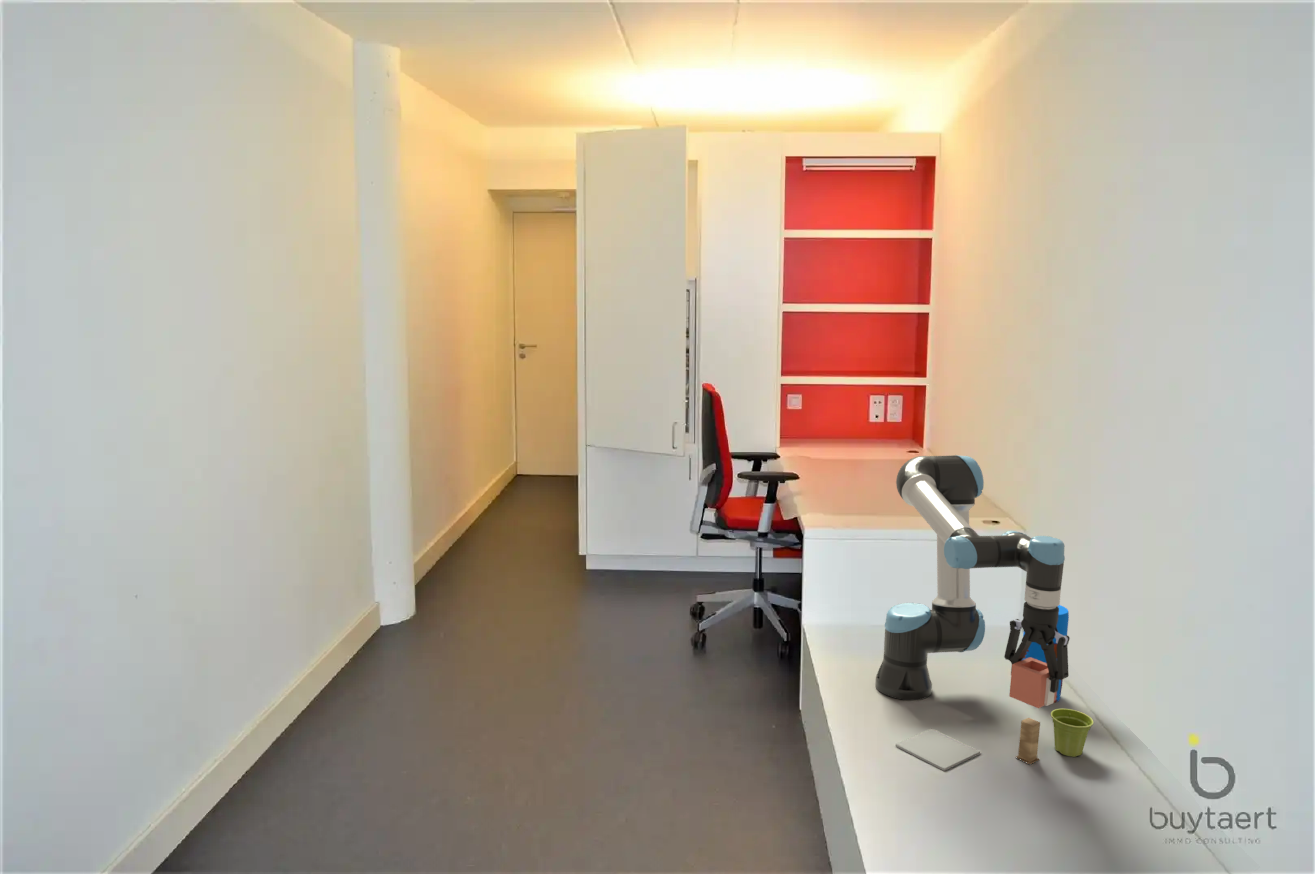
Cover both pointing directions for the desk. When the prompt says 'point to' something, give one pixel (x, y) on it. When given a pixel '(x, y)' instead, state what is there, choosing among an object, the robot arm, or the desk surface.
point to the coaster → (938, 749)
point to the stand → (1029, 740)
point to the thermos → (1062, 628)
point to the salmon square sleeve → (1029, 682)
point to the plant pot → (1070, 731)
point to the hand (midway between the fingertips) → (1032, 697)
